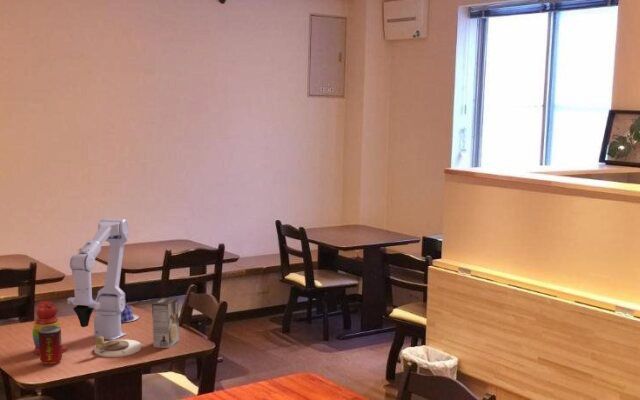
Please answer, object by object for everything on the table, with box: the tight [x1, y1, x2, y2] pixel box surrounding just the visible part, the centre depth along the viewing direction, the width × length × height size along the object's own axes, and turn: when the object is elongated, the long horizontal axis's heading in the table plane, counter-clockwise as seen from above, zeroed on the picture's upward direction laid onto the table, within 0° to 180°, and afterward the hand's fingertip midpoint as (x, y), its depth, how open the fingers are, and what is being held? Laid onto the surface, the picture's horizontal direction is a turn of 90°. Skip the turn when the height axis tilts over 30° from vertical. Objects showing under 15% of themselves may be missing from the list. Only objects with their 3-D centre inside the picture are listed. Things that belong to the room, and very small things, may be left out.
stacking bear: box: [32, 300, 68, 356], centre depth 269 cm, size 11×10×18 cm
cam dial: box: [95, 336, 129, 351], centre depth 268 cm, size 13×9×5 cm
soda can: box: [38, 326, 63, 367], centre depth 256 cm, size 7×7×12 cm
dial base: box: [93, 339, 142, 358], centre depth 271 cm, size 16×16×1 cm
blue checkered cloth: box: [121, 305, 140, 323], centre depth 309 cm, size 12×12×5 cm
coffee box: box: [151, 297, 180, 349], centre depth 276 cm, size 9×6×16 cm
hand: (84, 326), depth 267 cm, fingers closed
